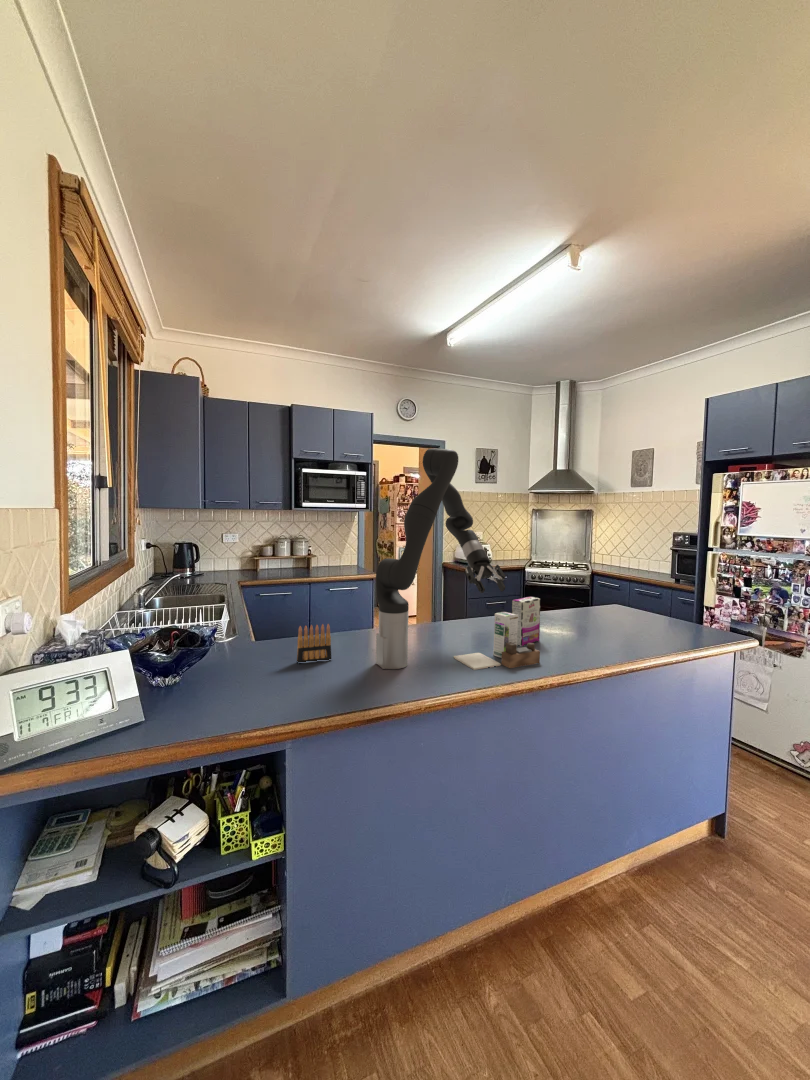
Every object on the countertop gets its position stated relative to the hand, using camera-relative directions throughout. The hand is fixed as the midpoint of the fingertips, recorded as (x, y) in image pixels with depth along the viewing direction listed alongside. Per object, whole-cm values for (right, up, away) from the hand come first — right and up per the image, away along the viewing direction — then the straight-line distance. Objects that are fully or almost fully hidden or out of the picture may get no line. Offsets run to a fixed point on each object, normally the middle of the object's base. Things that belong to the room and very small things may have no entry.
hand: (493, 591), depth 156 cm
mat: (-8, -22, -11) cm, 25 cm away
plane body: (+6, -22, -12) cm, 26 cm away
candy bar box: (+14, -21, +11) cm, 27 cm away
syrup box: (+3, -21, -5) cm, 22 cm away
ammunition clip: (-60, -21, -14) cm, 65 cm away
